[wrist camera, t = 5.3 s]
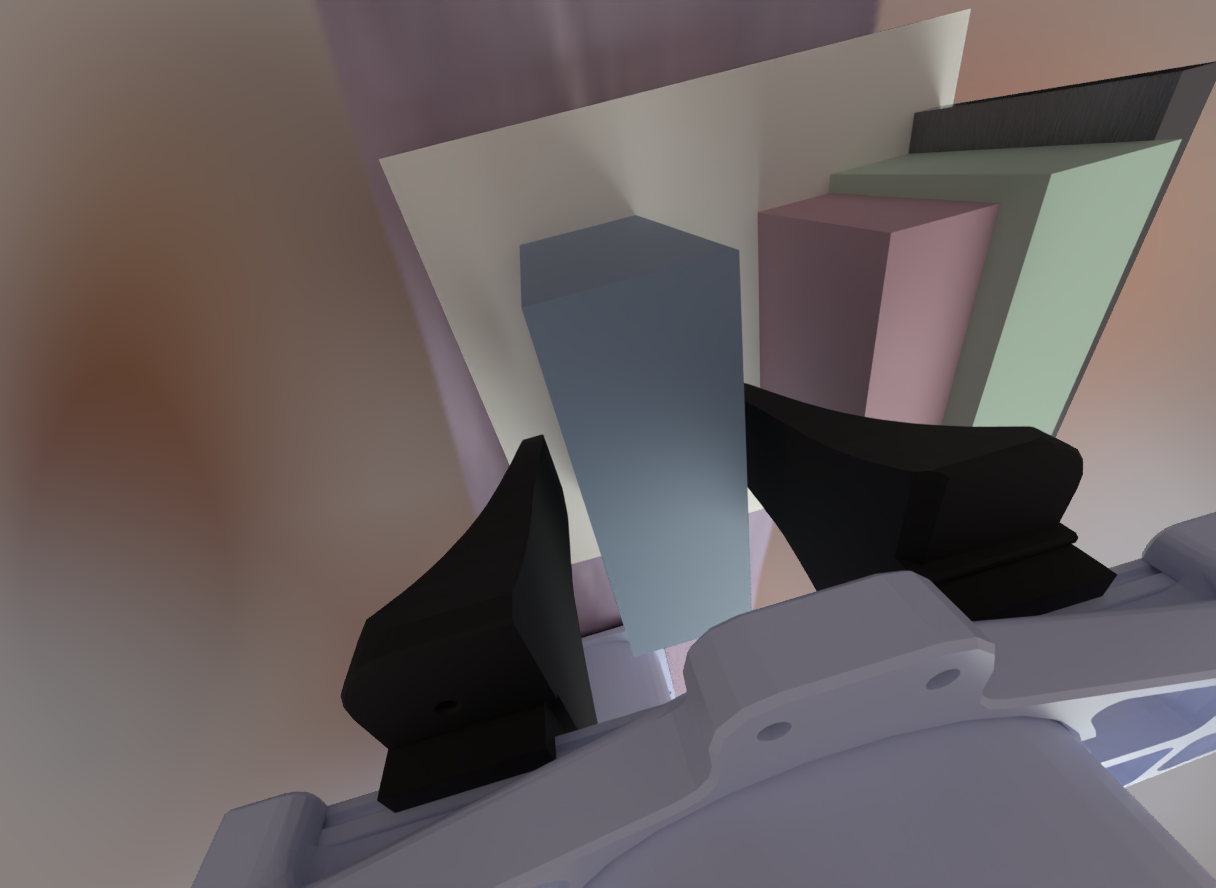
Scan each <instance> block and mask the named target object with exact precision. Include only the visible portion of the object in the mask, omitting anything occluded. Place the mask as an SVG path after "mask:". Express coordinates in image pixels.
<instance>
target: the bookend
mask: <svg viewBox="0 0 1216 888" xmlns="http://www.w3.org/2000/svg"><path fill="white" fill-rule="evenodd" d="M1215 81H1216V61H1215V62H1209V63H1203V64H1197V65H1191V66H1185V67H1178V68H1172V69H1166V70H1160V71H1154V72H1147V73H1141V74H1135V75H1129V76H1123V77H1117V78H1111V79H1104V80H1098V81H1092V82H1086V83H1080V84H1073V85H1067V86H1061V87H1056V88H1049V89H1044V90H1037V91H1031V92H1024V93H1018V94H1012V95H1006V96H1000V97H994V98H987V99H981V100H975V101H969V102H963V103H957V104H950V105H944V106H939V107H935V108H931V109H927V110H924V111H920V112H916V113H914V119H913V125H912V132H911V139H910V145H909V152H908V154H913V153H931V152H950V151H968V150H987V149H1005V148H1024V147H1042V146H1060V145H1079V144H1097V143H1116V142H1134V141H1153V140H1171V139H1182V140H1181V142H1180V145H1179V147H1178V149H1177V152H1176V154H1175V156H1174V158H1173V161H1172V163H1171V165H1170V167H1169V170H1168V172H1167V174H1166V176H1165V179H1164V181H1163V183H1162V186H1161V188H1160V190H1159V192H1158V195H1157V197H1156V199H1155V201H1154V204H1153V206H1152V208H1151V210H1150V213H1149V215H1148V217H1147V220H1146V222H1145V224H1144V226H1143V229H1142V231H1141V233H1140V235H1139V238H1138V240H1137V242H1136V244H1135V247H1134V249H1133V251H1132V254H1131V256H1130V258H1129V260H1128V263H1127V265H1126V267H1125V269H1124V272H1123V274H1122V276H1121V278H1120V281H1119V283H1118V285H1117V288H1116V290H1115V292H1114V294H1113V297H1112V299H1111V301H1110V303H1109V306H1108V308H1107V310H1106V312H1105V315H1104V317H1103V319H1102V322H1101V324H1100V326H1099V328H1098V331H1097V333H1096V335H1095V337H1094V340H1093V342H1092V344H1091V346H1090V349H1089V351H1088V353H1087V356H1086V358H1085V360H1084V362H1083V365H1082V367H1081V369H1080V371H1079V374H1078V376H1077V378H1076V380H1075V383H1074V385H1073V387H1072V389H1071V392H1070V394H1069V396H1068V399H1067V401H1066V403H1065V405H1064V408H1063V410H1062V412H1061V414H1060V417H1059V419H1058V421H1057V423H1056V426H1055V428H1054V430H1053V433H1052V435H1051V436H1053V437H1056V435H1057V433H1058V430H1059V428H1060V426H1061V424H1062V422H1063V420H1064V417H1065V415H1066V413H1067V410H1068V408H1069V406H1070V404H1071V402H1072V400H1073V397H1074V395H1075V393H1076V390H1077V388H1078V386H1079V384H1080V382H1081V379H1082V377H1083V375H1084V373H1085V371H1086V368H1087V366H1088V364H1089V362H1090V359H1091V357H1092V355H1093V353H1094V351H1095V348H1096V346H1097V344H1098V342H1099V339H1100V337H1101V335H1102V333H1103V331H1104V328H1105V326H1106V324H1107V322H1108V319H1109V317H1110V315H1111V312H1112V311H1113V308H1114V306H1115V304H1116V302H1117V299H1118V297H1119V295H1120V293H1121V290H1122V288H1123V286H1124V284H1125V282H1126V279H1127V277H1128V275H1129V272H1130V270H1131V268H1132V266H1133V264H1134V261H1135V259H1136V257H1137V255H1138V253H1139V250H1140V248H1141V246H1142V243H1143V242H1144V239H1145V237H1146V235H1147V233H1148V230H1149V228H1150V226H1151V224H1152V221H1153V219H1154V217H1155V215H1156V212H1157V210H1158V208H1159V206H1160V204H1161V201H1162V199H1163V197H1164V194H1165V193H1166V190H1167V188H1168V186H1169V184H1170V181H1171V179H1172V177H1173V175H1174V173H1175V170H1176V168H1177V166H1178V164H1179V161H1180V159H1181V157H1182V155H1183V152H1184V150H1185V148H1186V146H1187V143H1188V141H1189V139H1190V137H1191V135H1192V132H1193V130H1194V128H1195V126H1196V123H1197V121H1198V119H1199V117H1200V115H1201V112H1202V110H1203V108H1204V106H1205V103H1206V101H1207V99H1208V97H1209V95H1210V92H1211V90H1212V88H1213V86H1214V83H1215Z"/></svg>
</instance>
